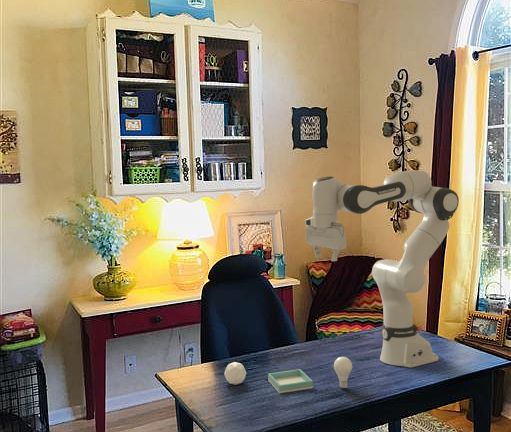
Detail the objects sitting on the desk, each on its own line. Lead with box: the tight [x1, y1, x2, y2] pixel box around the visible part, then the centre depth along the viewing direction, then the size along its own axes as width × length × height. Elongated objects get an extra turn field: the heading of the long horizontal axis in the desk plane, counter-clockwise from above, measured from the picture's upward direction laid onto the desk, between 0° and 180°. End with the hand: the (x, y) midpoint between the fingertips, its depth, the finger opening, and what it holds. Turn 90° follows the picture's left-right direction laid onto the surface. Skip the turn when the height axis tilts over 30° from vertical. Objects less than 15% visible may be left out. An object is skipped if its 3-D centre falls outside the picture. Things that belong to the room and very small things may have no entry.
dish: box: [267, 368, 314, 394], centre depth 205 cm, size 12×12×3 cm
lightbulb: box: [333, 356, 353, 389], centre depth 200 cm, size 6×6×11 cm
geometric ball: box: [224, 361, 247, 386], centre depth 207 cm, size 8×8×8 cm
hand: (326, 259), depth 211 cm, fingers open, 8 cm apart
